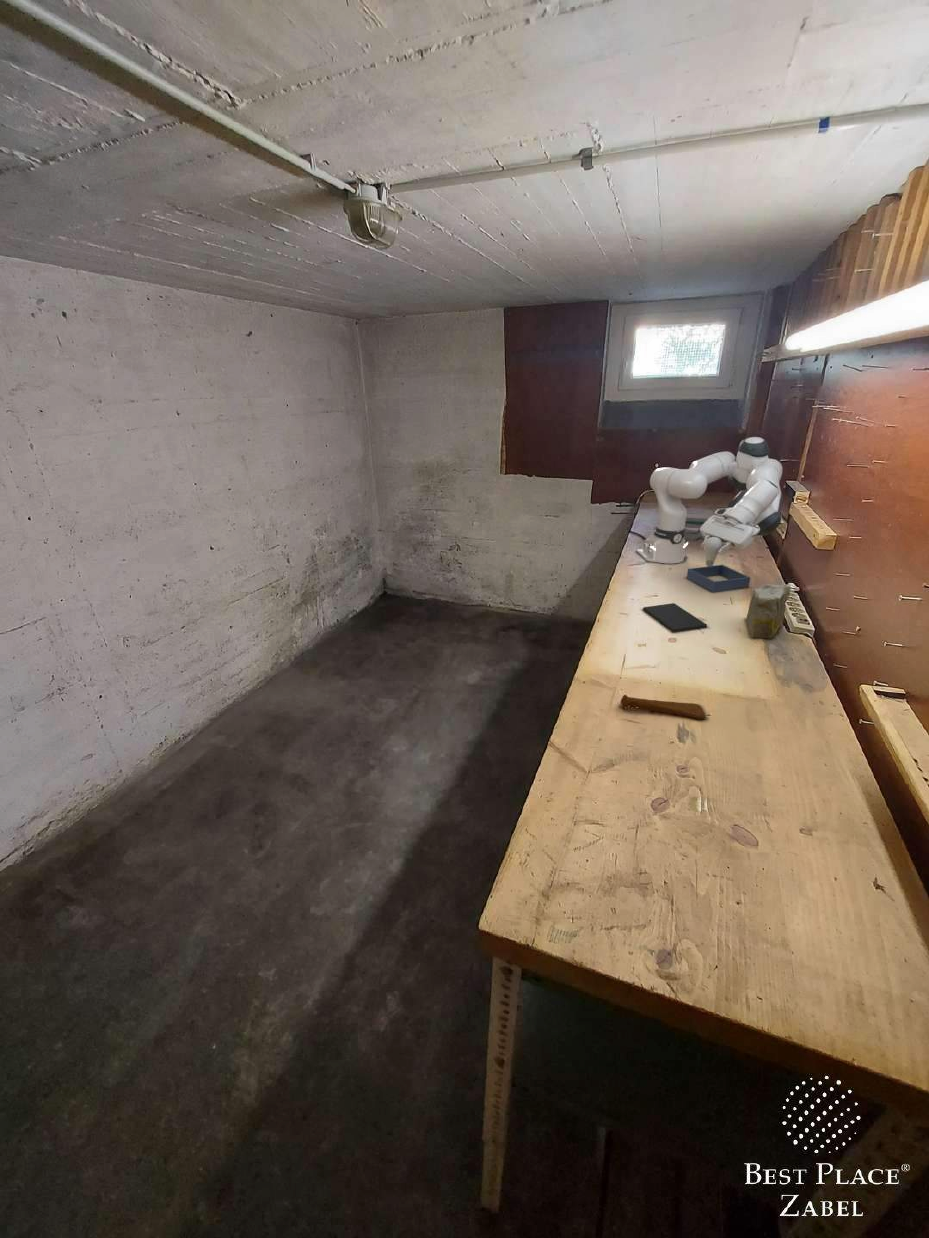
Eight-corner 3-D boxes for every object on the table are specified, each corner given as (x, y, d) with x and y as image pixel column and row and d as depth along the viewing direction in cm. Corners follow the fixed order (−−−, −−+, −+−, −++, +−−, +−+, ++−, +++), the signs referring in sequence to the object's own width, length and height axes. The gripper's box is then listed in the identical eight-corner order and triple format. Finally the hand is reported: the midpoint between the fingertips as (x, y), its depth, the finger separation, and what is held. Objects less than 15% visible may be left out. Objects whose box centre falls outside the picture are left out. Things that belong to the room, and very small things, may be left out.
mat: (642, 609, 170) (643, 607, 170) (673, 605, 172) (673, 603, 172) (673, 632, 154) (673, 629, 154) (706, 627, 156) (706, 624, 156)
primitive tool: (699, 706, 119) (701, 694, 118) (706, 720, 114) (708, 708, 113) (619, 702, 122) (620, 691, 120) (622, 716, 117) (624, 704, 116)
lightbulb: (720, 569, 172) (726, 539, 167) (702, 569, 173) (707, 539, 168) (715, 563, 177) (721, 534, 172) (698, 563, 178) (703, 534, 174)
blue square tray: (686, 578, 195) (688, 568, 193) (720, 573, 198) (722, 564, 196) (712, 592, 181) (714, 582, 179) (748, 587, 184) (750, 577, 182)
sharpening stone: (711, 537, 242) (715, 515, 238) (710, 541, 236) (714, 519, 231) (658, 532, 253) (661, 511, 249) (656, 536, 247) (659, 515, 242)
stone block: (749, 638, 149) (760, 593, 142) (745, 618, 161) (755, 576, 154) (787, 643, 145) (800, 597, 138) (781, 622, 157) (792, 579, 150)
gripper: (766, 532, 163) (737, 564, 165) (721, 518, 180) (695, 547, 182) (759, 521, 160) (729, 553, 162) (713, 508, 177) (687, 537, 179)
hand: (710, 549), depth 172 cm, fingers closed on lightbulb, 6 cm apart
